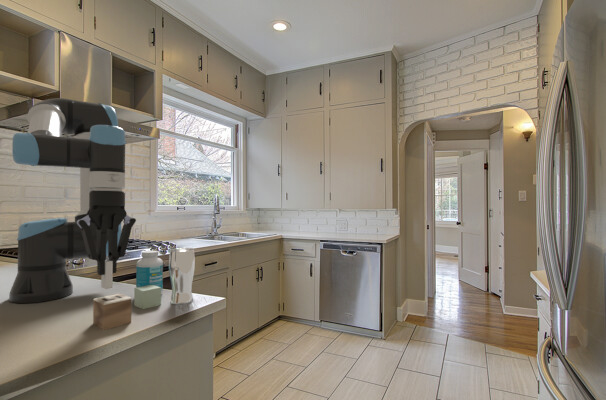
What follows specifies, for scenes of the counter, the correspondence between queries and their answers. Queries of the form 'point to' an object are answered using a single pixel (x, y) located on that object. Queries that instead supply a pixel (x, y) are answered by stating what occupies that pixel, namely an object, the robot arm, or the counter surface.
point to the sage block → (147, 296)
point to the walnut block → (111, 311)
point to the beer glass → (181, 274)
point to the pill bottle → (149, 270)
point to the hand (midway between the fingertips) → (106, 287)
